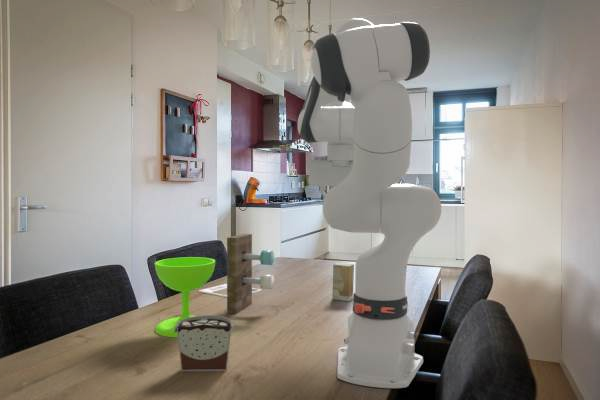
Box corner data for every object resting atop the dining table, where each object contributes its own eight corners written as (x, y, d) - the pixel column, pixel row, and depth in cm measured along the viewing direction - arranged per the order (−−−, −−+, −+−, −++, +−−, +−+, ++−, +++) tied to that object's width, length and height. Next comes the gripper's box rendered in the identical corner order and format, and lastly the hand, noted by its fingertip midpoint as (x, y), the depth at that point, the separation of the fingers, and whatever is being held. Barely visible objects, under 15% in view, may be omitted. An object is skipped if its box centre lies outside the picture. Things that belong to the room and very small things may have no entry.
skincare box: (331, 299, 149) (332, 264, 149) (336, 296, 153) (337, 262, 153) (349, 301, 146) (349, 265, 146) (354, 299, 150) (354, 263, 150)
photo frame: (227, 283, 172) (261, 289, 162) (227, 285, 172) (261, 292, 162) (198, 289, 160) (234, 297, 150) (198, 292, 160) (234, 300, 150)
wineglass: (153, 322, 123) (153, 258, 123) (210, 316, 129) (210, 255, 129) (156, 340, 108) (155, 268, 108) (220, 333, 114) (220, 264, 114)
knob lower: (274, 287, 137) (274, 273, 137) (269, 290, 133) (269, 276, 133) (237, 285, 141) (237, 271, 141) (231, 287, 136) (231, 273, 136)
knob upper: (274, 263, 137) (274, 249, 137) (269, 266, 133) (269, 251, 132) (237, 261, 140) (237, 248, 140) (231, 264, 136) (231, 250, 136)
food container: (237, 359, 97) (237, 314, 97) (233, 370, 91) (233, 322, 90) (181, 359, 96) (181, 314, 96) (174, 371, 90) (173, 323, 90)
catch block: (251, 303, 143) (251, 234, 143) (236, 313, 132) (236, 237, 131) (243, 303, 144) (243, 233, 144) (227, 312, 133) (227, 237, 132)
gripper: (305, 155, 130) (305, 201, 130) (374, 154, 124) (373, 202, 124) (311, 156, 136) (311, 200, 136) (377, 155, 130) (376, 201, 130)
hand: (341, 201), depth 130 cm, fingers open, 8 cm apart
